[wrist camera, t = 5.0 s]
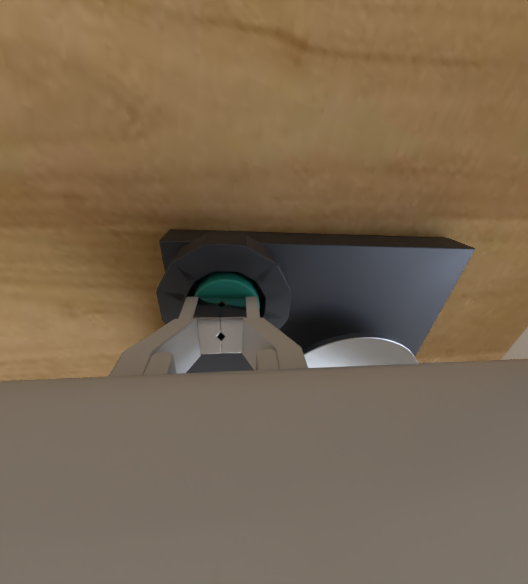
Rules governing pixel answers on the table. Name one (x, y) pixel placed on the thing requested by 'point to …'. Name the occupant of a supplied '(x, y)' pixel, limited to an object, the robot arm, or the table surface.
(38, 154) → the table surface
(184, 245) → the scale
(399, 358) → the silver metal disc
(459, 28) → the table surface
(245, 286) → the button
